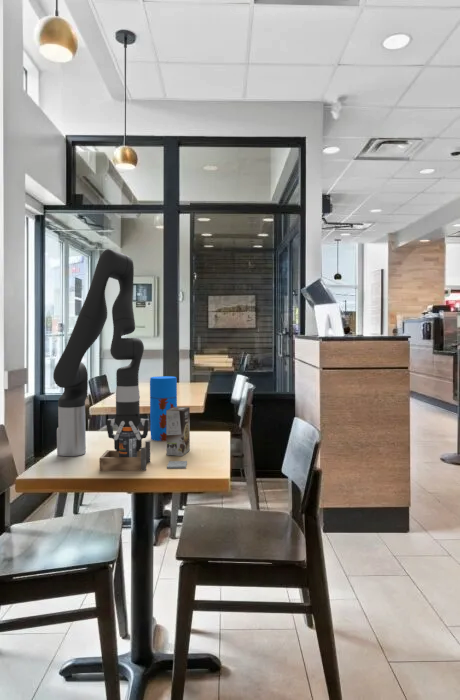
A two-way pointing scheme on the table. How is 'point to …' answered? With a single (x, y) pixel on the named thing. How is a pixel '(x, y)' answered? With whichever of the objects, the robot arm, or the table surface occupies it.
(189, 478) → the table surface
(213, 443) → the table surface
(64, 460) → the table surface
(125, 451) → the pill bottle
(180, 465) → the mat
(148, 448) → the wooden u-shaped frame
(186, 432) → the coffee box
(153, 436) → the thermos
